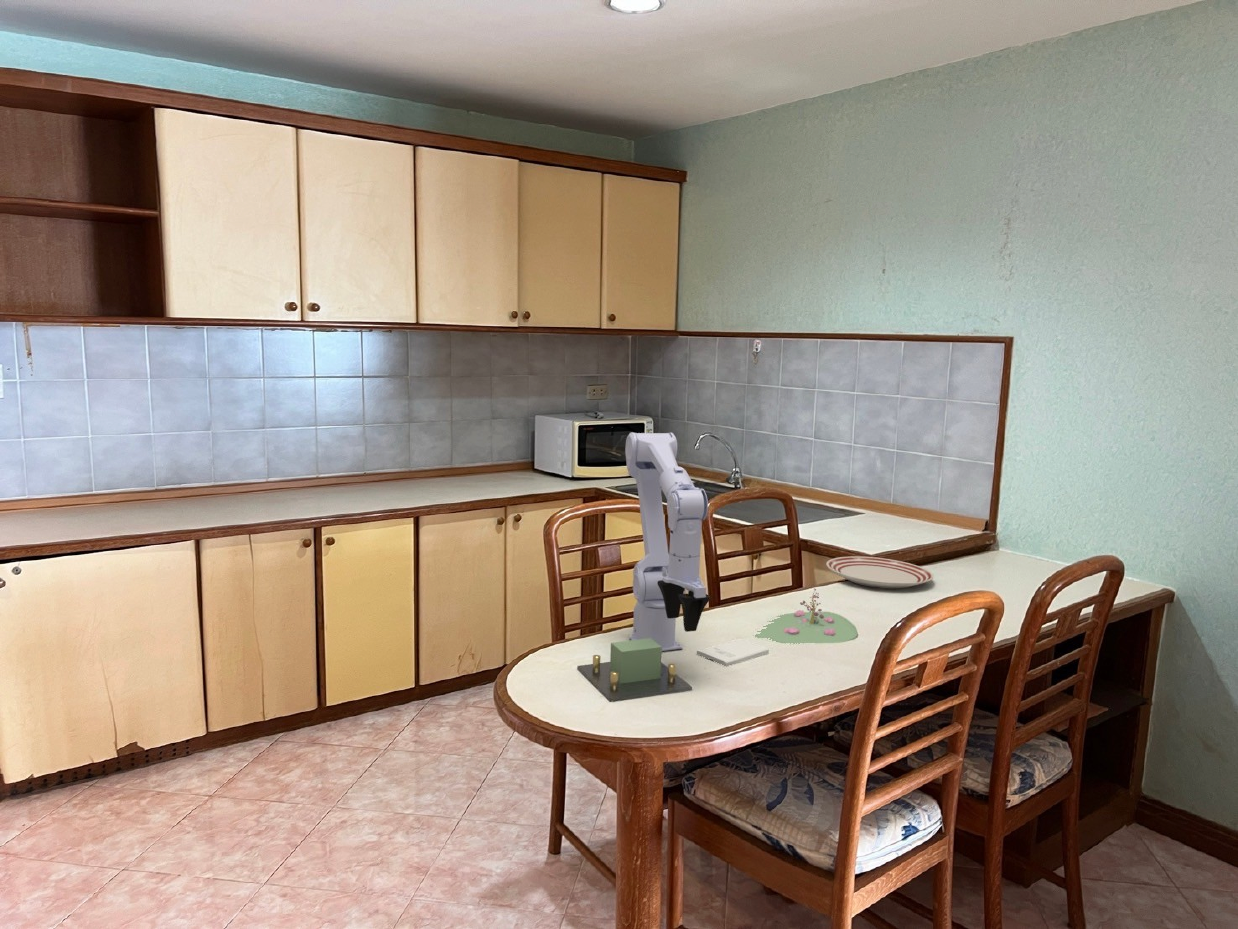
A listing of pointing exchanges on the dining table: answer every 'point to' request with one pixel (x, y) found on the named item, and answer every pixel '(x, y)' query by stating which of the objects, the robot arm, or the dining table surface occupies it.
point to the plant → (809, 627)
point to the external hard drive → (733, 651)
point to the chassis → (624, 691)
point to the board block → (636, 660)
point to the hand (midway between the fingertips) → (681, 624)
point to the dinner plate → (879, 572)
